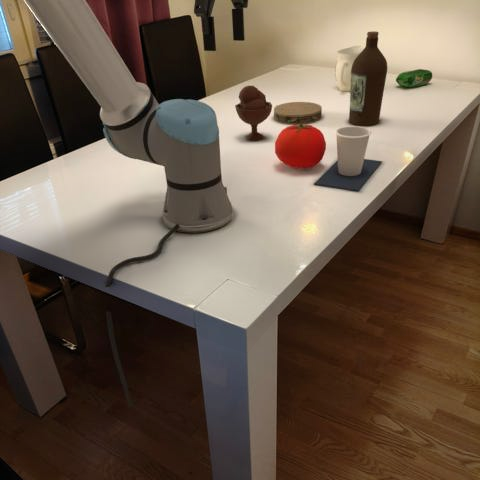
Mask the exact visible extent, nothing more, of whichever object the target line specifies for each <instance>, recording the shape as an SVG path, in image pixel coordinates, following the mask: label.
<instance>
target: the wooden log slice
mask: <svg viewBox="0 0 480 480" xmlns="http://www.w3.org/2000/svg"><path fill="white" fill-rule="evenodd" d="M322 107H323V106H322V105H320V104H319V103H315V102H310V101H292V102H285V103H280V104H278V105H276V106H274V107H273V120H274V121H275V122H277V123H279V124H283V125H290V126H292V125H299V124H303V125H310V124H313V123H317V122H318V121H320V120H321V119H322V111H323V110H322V109H323V108H322Z"/></svg>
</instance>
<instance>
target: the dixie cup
mask: <svg viewBox="0 0 480 480" xmlns="http://www.w3.org/2000/svg"><path fill="white" fill-rule="evenodd" d="M334 133H335V135H336V156H337V157H336V158H337V160H338V173H339V174H341V175H345V176H355V175H359V174H360V173H361V170H362V166H363V161H364V159H365V157H366V152H367V148H368V144H369V140H370V135H371V134H372V131H371V130H370V129H369V128H367V127H366V126H358V125H347V126H341V127H339V128H337V129H336V130H335V132H334Z"/></svg>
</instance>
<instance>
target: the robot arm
mask: <svg viewBox="0 0 480 480" xmlns="http://www.w3.org/2000/svg"><path fill="white" fill-rule="evenodd" d="M23 2H24V3H25V4H26V5H27V7H28V8H29V10H30V11H31V13H32V15H34V17H35V18H36V19H37V21H38V22H39V23H40V25H41V26H42V28H43V29H44V30H45V32H46V33H47V35H48V36H49V37H50V39H51V41H52V42H53V43H54V45H56V47H57V48H58V50H59V51H60V53H61V54H62V55H63V57H64V58H65V60H66V61H67V62H68V63H69V65H70V66H71V68H72V69H73V70H74V72H75V74H77V76H78V77H79V79H80V80H81V81H82V83H83V84H84V85H85V87H86V88H87V90H88V91H89V92H90V94H91V95H92V96H93V98H94V99H95V101H96V102H97V103H98V105H99V106H100V110H99V118H100V120H101V121H102V125H103V129H102V131H103V135H104V138H105V139H106V142H107V143H108V144H109V146H110V147H111V148H112V149H113V150H114V151H115V152H116V153H118V154H120V155H122V156H124V157H127V158H129V159H133V160H139V161H141V162H146V163H149V164H154V165H157V166H161V167H164V174H165V181H166V190H165V196H164V203H163V209H162V218H163V222H164V225H165V226H166V227H167V228H169V229H170V230H169V231H168V232H167V233H166V234H165V235H163V237H162V238H161V239H160V240H159V242H158V244H157V248H156V249H155V251H153V252H152V253H149V254H147V255H141V256H134V257H130V258H127V259H124V260H122V261H120V262H119V263H117V264H115V265H114V266H113V267H111V269H110V271H109V273H108V276H107V278H106V282H105V286H104V287H105V288H110V286H111V285H112V281H113V278H114V276H115V274H116V272H117V271H118V270H119V269H121V268H123V267H125V266H126V265H129V264H132V263H136V262H143V261H148V260H151V259H153V258H156V257H157V256H158V255H159V254H160V253H161V252H162V249H163V245H164V243H165V242H166V241H167V240H168V239H169V238H170V237H171V236H172V235H173V234H174V233H175V232H180V233H186V234H187V233H188V234H199V233H206V232H211V231H214V230H217V229H220V228H222V227H224V226H225V225H227V224H228V223H229V222H231V220H232V219H233V217H234V214H233V205H232V202H231V201H230V198H229V195H228V187H226V186H225V185H224V183H223V176H222V160H221V148H220V147H221V145H220V143H221V142H220V127H219V125H218V119H217V113H216V112H215V110H214V108H212V107H211V106H210V105H209V104H207V103H205V102H202V101H199V100H195V99H183V98H175V99H169V100H165V101H163V102H161V103H159V102H158V100H157V99H156V97H155V96H154V94H153V92H152V91H151V89H150V87H149V86H148V85H147V84H146V83H143V82H139V81H136V79H135V78H134V76H133V75H132V73H131V71H130V69H129V68H128V66H127V65H126V64H125V61H124V60H123V59H122V57H121V55H120V54H119V52H118V51H117V48H116V47H115V45H114V44H113V42H112V41H111V39H110V37H109V36H108V35H107V33H106V31H105V29H104V28H103V27H102V25H101V23H100V22H99V20H98V18H97V16H96V15H95V13H94V12H93V10H92V8H91V7H90V5H89V3H88V2H87V1H86V0H23ZM230 2H231V4H232V6H233V8H231V18H232V19H231V20H232V21H231V23H232V37H233V38H232V41H235V42H237V41H238V42H239V41H240V42H241V41H242V42H244V41H245V39H246V38H245V16H244V13H245V12H244V9H248V5H249V0H230ZM215 3H216V0H194V6H193V14H194V15H195V16H196V17H198V18H200V21H201V32H202V41H203V52H216V51H217V43H216V29H215V18H214V17H215V16H212V13H213V9H214V6H215ZM105 314H106V324H107V329H108V336H109V341H110V345H111V349H112V353H113V358H114V361H115V364H116V368H117V371H118V375H119V378H120V381H121V384H122V387H123V391H124V395H125V398H126V402H127V406H128V408H131V407H133V401H132V398H131V395H130V394H131V393H130V390H129V386H128V384H127V381H126V377H125V373H124V370H123V366H122V364H121V360H120V356H119V353H118V348H117V344H116V338H115V333H114V328H113V327H114V326H113V320H112V318H113V317H112V312H111V311H108V310H105Z"/></svg>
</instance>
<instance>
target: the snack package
mask: <svg viewBox="0 0 480 480" xmlns="http://www.w3.org/2000/svg"><path fill="white" fill-rule="evenodd" d="M432 79H433V72H432V70H429V69H421V68H419V69H414V70H408V71H403V72H400V73H399V74H398V75H397V76H396V78H395V82H396V83H397V84H398V86H400V87H406V88H417V87H421V86H424V85H427V84H429V83H430V81H431V80H432Z"/></svg>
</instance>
